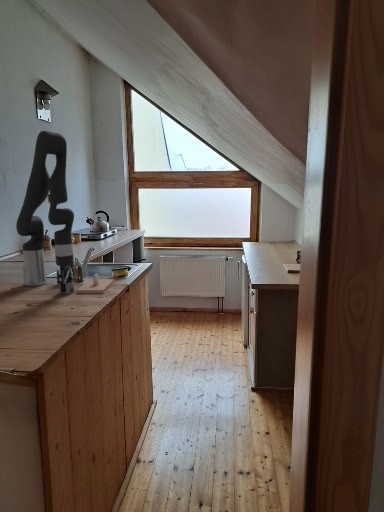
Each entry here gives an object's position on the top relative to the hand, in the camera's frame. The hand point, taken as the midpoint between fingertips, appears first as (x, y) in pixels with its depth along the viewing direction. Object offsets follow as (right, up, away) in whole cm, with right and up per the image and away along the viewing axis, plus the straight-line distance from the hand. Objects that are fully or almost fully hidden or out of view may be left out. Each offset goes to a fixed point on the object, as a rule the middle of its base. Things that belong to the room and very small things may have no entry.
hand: (67, 289), depth 161 cm
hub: (0, -1, 0) cm, 1 cm away
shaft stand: (+11, 0, +8) cm, 14 cm away
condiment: (-6, +2, +19) cm, 20 cm away
